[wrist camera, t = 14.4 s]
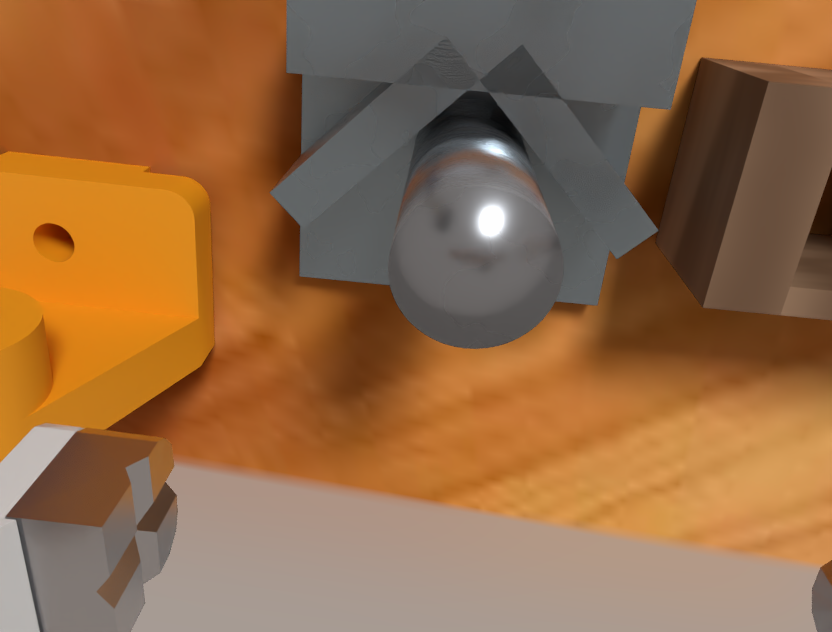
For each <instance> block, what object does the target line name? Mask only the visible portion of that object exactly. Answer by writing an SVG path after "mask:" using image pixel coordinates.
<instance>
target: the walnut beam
mask: <svg viewBox="0 0 832 632" xmlns="http://www.w3.org/2000/svg"><path fill="white" fill-rule="evenodd" d="M831 168H832V70H827V69H817V68H806V67H796V66H785V65H775V64H764V63H754V62H744V61H733V60H723V59H712V58H701V62H700V66H699V70H698V74H697V78H696V82H695V86H694V90H693V94H692V98H691V102H690V106H689V110H688V114H687V118H686V122H685V126H684V130H683V134H682V138H681V142H680V146H679V150H678V154H677V158H676V162H675V166H674V170H673V174H672V178H671V182H670V186H669V190H668V194H667V198H666V202H665V206H664V211H663V215H662V219H661V223H660V227H659V231H658V235H657V239H656V245H657V246H658V247H659V249H660V250H661V251H662V253H663V254H664V256H665V257H666V258H667V260H668V261H669V262H670V264H671V265H672V266H673V268H674V269H675V270H676V272H677V273H678V275H679V276H680V277H681V279H682V280H683V281H684V283H685V284H686V285H687V287H688V288H689V290H690V291H691V292H692V294H693V295H694V296H695V298H696V299H697V300H698V302H699V303H700V305H701V306H702V307H703V308H711V309H722V310H732V311H742V312H752V313H762V314H773V315H783V316H793V317H803V318H814V319H824V320H832V236H830V235H820V234H810V233H809V231H810V229H811V226H812V223H813V220H814V217H815V214H816V211H817V208H818V206H819V203H820V200H821V197H822V194H823V191H824V188H825V185H826V183H827V180H828V177H829V174H830V171H831Z"/></svg>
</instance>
